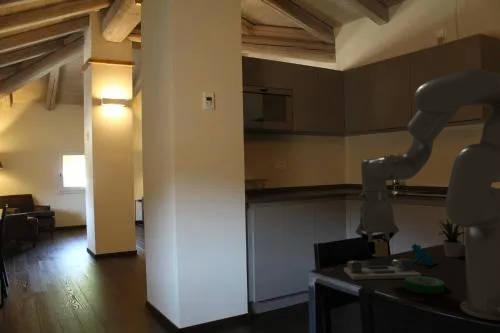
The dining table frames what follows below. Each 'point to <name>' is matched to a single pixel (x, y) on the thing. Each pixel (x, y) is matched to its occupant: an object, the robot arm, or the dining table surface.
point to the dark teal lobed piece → (422, 255)
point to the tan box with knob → (380, 248)
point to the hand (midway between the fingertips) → (378, 253)
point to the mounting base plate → (381, 273)
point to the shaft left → (357, 265)
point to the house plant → (451, 240)
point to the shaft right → (402, 264)
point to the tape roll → (424, 285)
